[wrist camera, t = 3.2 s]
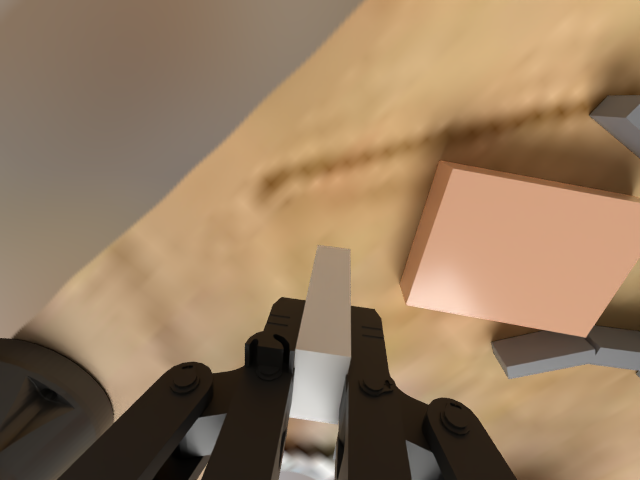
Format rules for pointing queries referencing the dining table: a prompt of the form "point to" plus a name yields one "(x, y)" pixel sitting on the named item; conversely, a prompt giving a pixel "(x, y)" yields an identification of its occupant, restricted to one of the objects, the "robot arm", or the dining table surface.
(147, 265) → the dining table surface
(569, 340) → the grey docking fixture
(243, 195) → the dining table surface
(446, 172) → the terracotta tile
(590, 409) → the dining table surface
